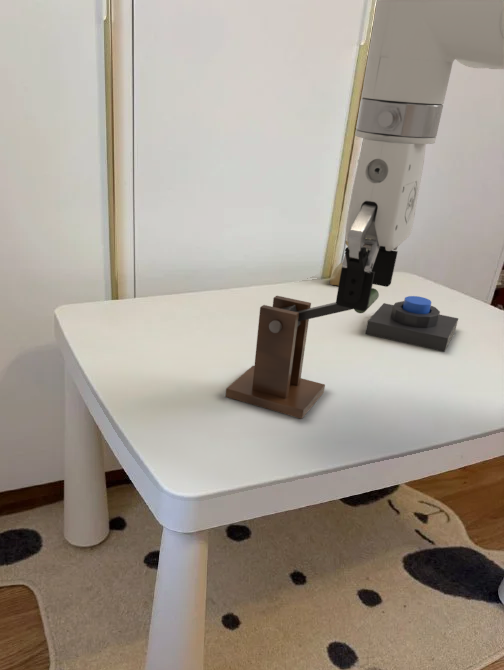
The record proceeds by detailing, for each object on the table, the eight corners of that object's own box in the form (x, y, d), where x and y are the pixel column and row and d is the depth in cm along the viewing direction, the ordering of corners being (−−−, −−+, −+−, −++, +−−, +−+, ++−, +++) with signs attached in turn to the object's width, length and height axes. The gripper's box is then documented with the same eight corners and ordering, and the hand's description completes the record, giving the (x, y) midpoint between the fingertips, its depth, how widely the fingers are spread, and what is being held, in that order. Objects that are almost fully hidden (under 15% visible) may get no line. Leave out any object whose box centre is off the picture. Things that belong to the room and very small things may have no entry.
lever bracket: (324, 392, 80) (338, 304, 74) (301, 419, 74) (315, 324, 68) (252, 373, 84) (260, 287, 78) (225, 396, 78) (232, 305, 72)
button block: (455, 331, 102) (461, 307, 100) (444, 351, 94) (450, 326, 92) (381, 315, 106) (385, 292, 104) (365, 334, 98) (369, 309, 97)
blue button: (431, 309, 99) (433, 299, 98) (426, 317, 96) (428, 306, 95) (405, 304, 101) (407, 294, 100) (399, 311, 98) (402, 301, 97)
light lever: (381, 303, 70) (375, 282, 70) (369, 316, 66) (363, 294, 66) (284, 325, 77) (278, 306, 76) (268, 338, 73) (262, 318, 73)
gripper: (419, 132, 52) (378, 327, 60) (452, 123, 65) (415, 282, 74) (331, 122, 55) (303, 309, 63) (381, 115, 68) (353, 270, 76)
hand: (364, 294), depth 68 cm, fingers open, 9 cm apart
